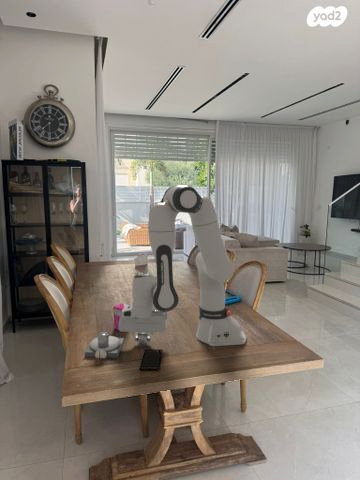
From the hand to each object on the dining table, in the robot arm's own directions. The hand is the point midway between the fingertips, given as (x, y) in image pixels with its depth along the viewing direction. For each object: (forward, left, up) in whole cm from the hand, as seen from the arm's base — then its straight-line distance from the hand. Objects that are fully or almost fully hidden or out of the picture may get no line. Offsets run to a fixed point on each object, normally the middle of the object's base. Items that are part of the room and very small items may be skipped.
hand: (142, 340), depth 140 cm
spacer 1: (+15, +8, +1) cm, 17 cm away
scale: (+15, +5, -3) cm, 16 cm away
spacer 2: (0, 0, -2) cm, 2 cm away
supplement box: (+12, -15, -2) cm, 19 cm away
